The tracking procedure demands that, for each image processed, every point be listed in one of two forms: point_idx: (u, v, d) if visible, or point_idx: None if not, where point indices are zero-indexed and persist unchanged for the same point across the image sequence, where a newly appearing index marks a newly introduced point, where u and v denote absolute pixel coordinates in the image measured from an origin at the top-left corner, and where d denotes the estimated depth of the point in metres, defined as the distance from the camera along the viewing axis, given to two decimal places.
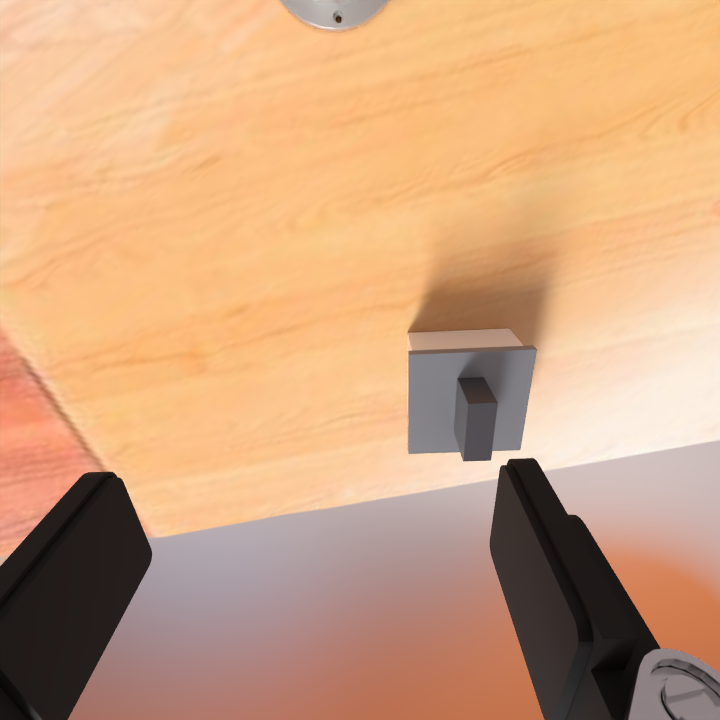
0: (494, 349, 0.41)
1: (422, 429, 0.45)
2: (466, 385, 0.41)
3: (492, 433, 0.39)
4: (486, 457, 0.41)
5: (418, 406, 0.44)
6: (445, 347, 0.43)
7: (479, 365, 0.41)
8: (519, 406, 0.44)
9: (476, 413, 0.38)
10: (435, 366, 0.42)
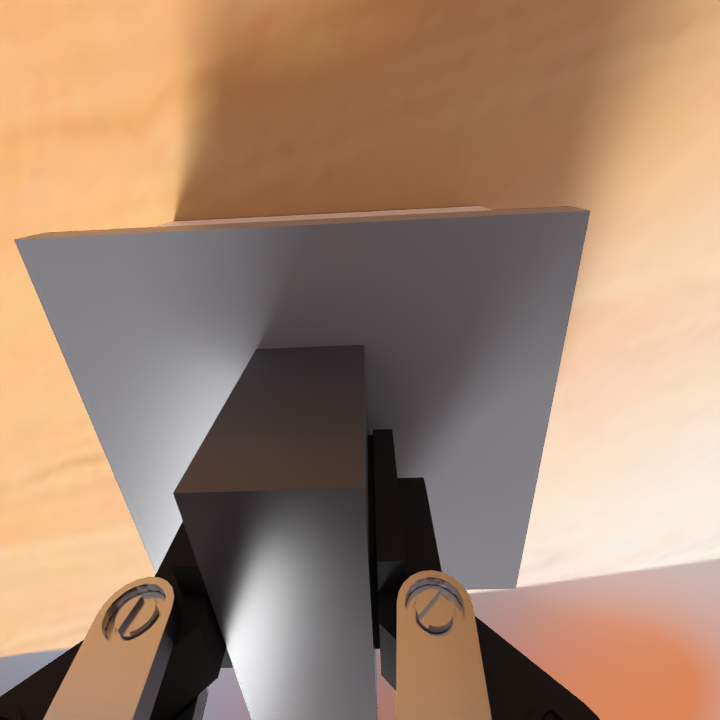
0: (401, 217, 0.09)
1: None
2: (266, 378, 0.09)
3: (363, 633, 0.07)
4: (355, 715, 0.09)
5: (141, 457, 0.12)
6: None
7: (339, 293, 0.10)
8: (512, 458, 0.12)
9: (245, 544, 0.06)
10: (150, 296, 0.10)
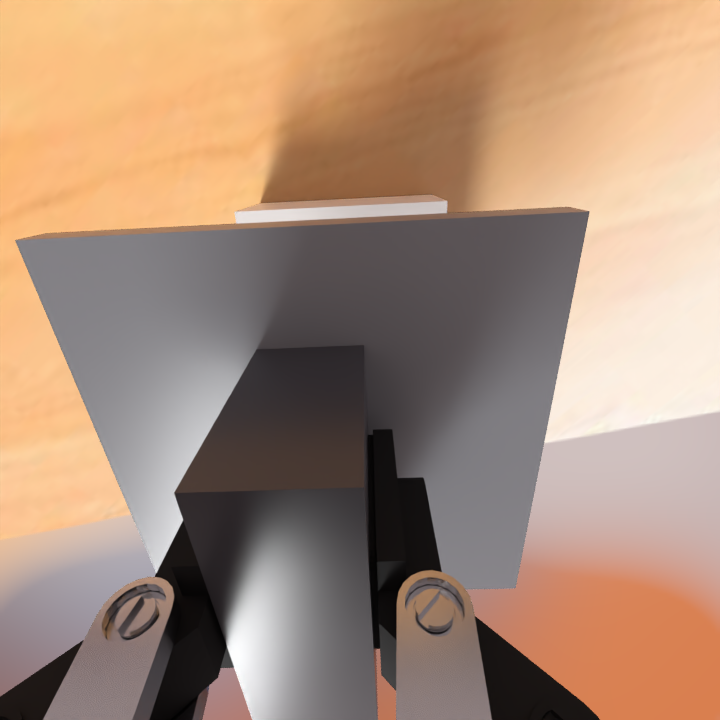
0: (401, 218, 0.09)
1: None
2: (266, 379, 0.09)
3: (363, 632, 0.07)
4: (355, 714, 0.09)
5: (141, 457, 0.12)
6: (302, 206, 0.24)
7: (339, 293, 0.10)
8: (512, 458, 0.12)
9: (246, 543, 0.06)
10: (151, 297, 0.10)
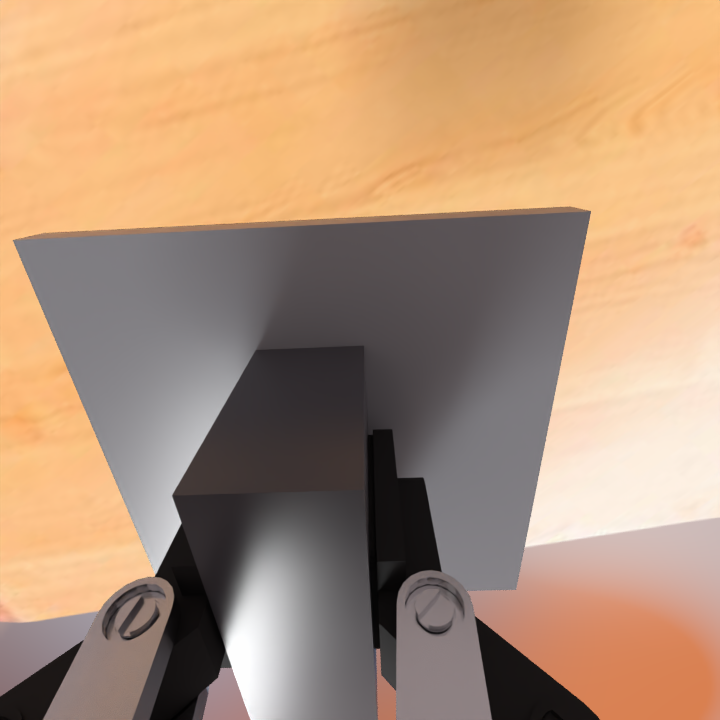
0: (401, 218, 0.09)
1: None
2: (265, 379, 0.09)
3: (363, 635, 0.07)
4: (355, 717, 0.09)
5: (140, 458, 0.12)
6: None
7: (339, 294, 0.10)
8: (512, 459, 0.12)
9: (245, 546, 0.06)
10: (149, 297, 0.10)
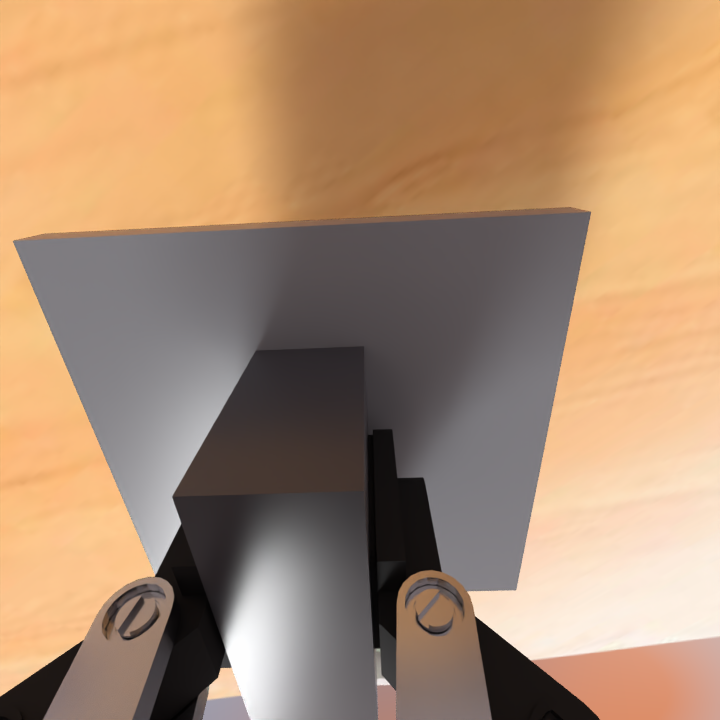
0: (401, 218, 0.09)
1: None
2: (265, 380, 0.09)
3: (363, 636, 0.07)
4: (355, 718, 0.09)
5: (140, 458, 0.12)
6: None
7: (339, 294, 0.10)
8: (512, 459, 0.12)
9: (245, 547, 0.06)
10: (149, 298, 0.10)
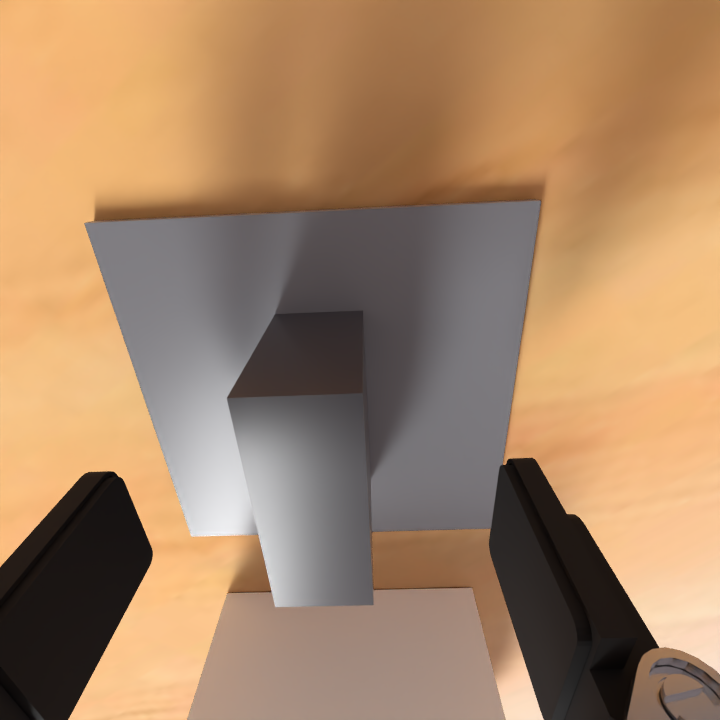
0: (392, 206, 0.12)
1: (209, 474, 0.16)
2: (285, 333, 0.11)
3: (362, 518, 0.10)
4: (355, 596, 0.11)
5: (176, 408, 0.14)
6: (285, 704, 0.15)
7: (343, 267, 0.12)
8: (486, 409, 0.14)
9: (276, 440, 0.09)
10: (191, 270, 0.12)
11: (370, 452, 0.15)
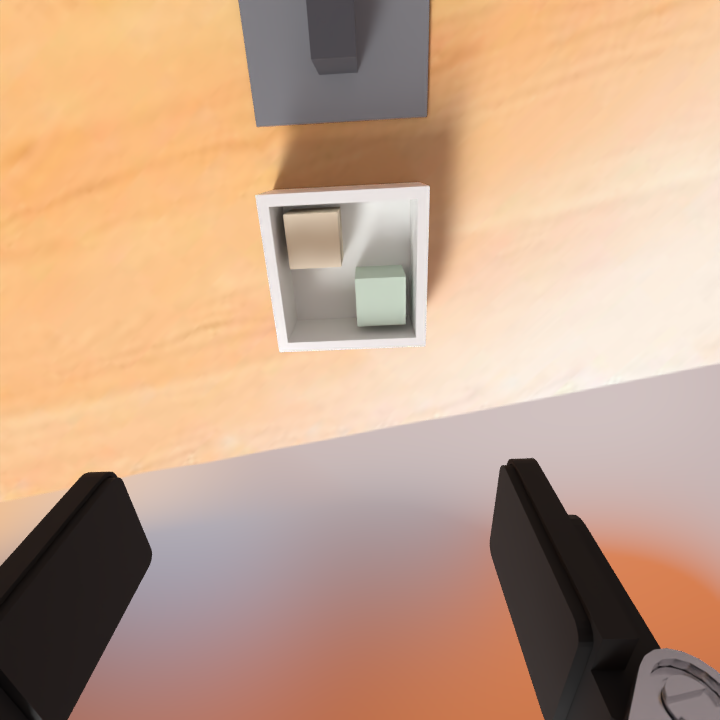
0: None
1: (269, 70, 0.29)
2: None
3: None
4: (348, 48, 0.24)
5: (255, 15, 0.27)
6: (311, 191, 0.29)
7: None
8: (416, 13, 0.27)
9: None
10: None
11: (357, 49, 0.28)
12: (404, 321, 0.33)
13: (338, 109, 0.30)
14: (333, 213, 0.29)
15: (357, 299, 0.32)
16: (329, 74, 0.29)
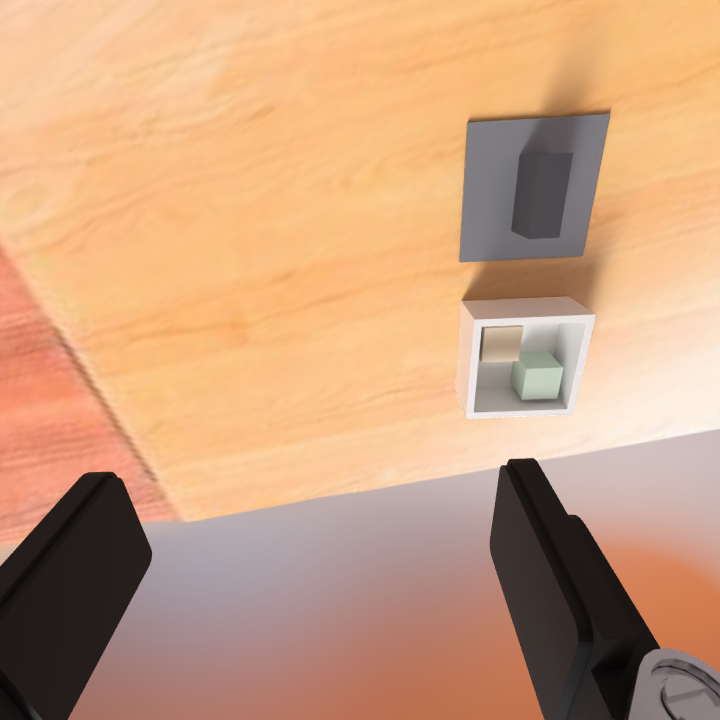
0: None
1: (476, 228, 0.41)
2: None
3: (563, 198, 0.35)
4: (554, 233, 0.37)
5: (474, 195, 0.40)
6: (506, 313, 0.41)
7: (545, 137, 0.38)
8: (585, 194, 0.40)
9: (548, 168, 0.34)
10: (496, 139, 0.38)
11: None
12: (556, 396, 0.45)
13: (520, 251, 0.42)
14: (520, 327, 0.41)
15: (525, 382, 0.44)
16: None
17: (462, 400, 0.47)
